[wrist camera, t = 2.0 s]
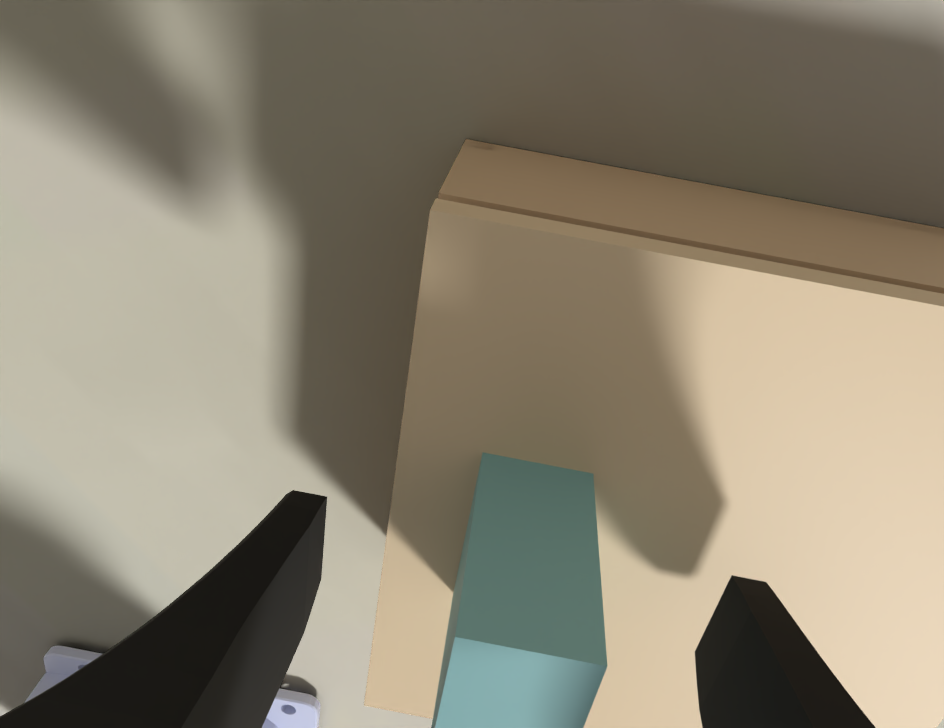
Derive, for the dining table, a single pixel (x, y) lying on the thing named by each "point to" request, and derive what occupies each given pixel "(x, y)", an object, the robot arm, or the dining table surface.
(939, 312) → the tan flat square block
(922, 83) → the dining table surface
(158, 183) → the dining table surface
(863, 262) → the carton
